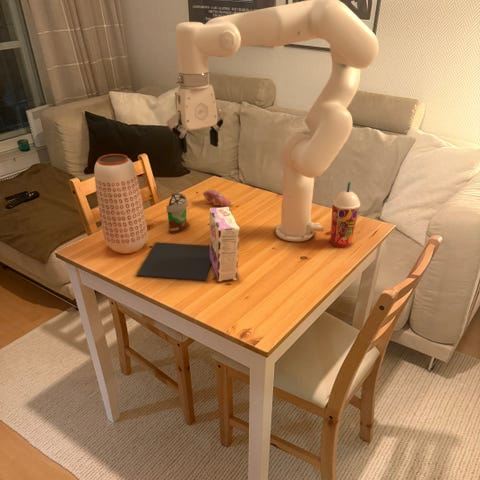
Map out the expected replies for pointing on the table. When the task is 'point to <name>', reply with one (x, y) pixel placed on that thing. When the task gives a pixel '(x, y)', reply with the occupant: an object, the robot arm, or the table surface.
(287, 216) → the robot arm
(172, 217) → the food container
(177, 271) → the placemat
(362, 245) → the table surface
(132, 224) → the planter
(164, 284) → the table surface
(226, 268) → the candy box
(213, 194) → the sweet potato
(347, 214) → the smoothie
